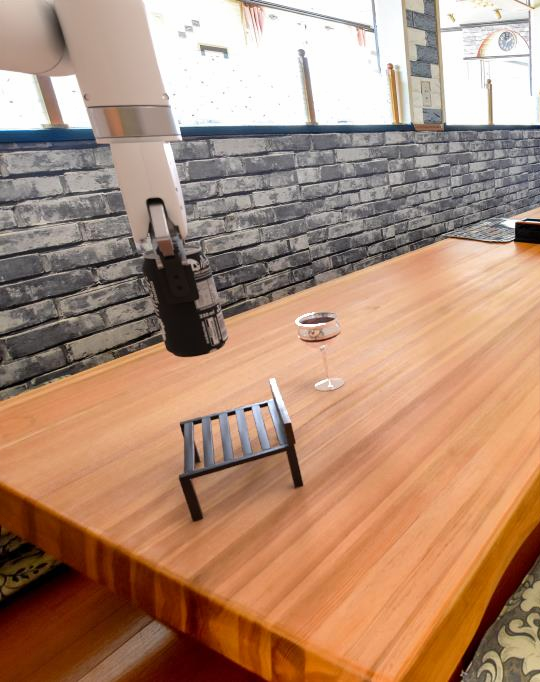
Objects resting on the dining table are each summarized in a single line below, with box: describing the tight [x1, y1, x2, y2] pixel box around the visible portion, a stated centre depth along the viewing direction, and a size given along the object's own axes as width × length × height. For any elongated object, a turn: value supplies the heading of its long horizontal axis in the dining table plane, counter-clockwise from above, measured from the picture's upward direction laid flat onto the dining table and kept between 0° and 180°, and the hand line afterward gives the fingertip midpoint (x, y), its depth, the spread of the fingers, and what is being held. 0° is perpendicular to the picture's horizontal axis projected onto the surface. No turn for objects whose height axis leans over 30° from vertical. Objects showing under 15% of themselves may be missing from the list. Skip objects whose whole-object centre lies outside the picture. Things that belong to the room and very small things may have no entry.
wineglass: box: [295, 311, 345, 392], centre depth 89 cm, size 7×7×12 cm
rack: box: [178, 378, 304, 522], centre depth 67 cm, size 12×14×9 cm
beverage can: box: [141, 244, 229, 358], centre depth 62 cm, size 7×7×12 cm
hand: (183, 292), depth 61 cm, fingers closed on beverage can, 6 cm apart
